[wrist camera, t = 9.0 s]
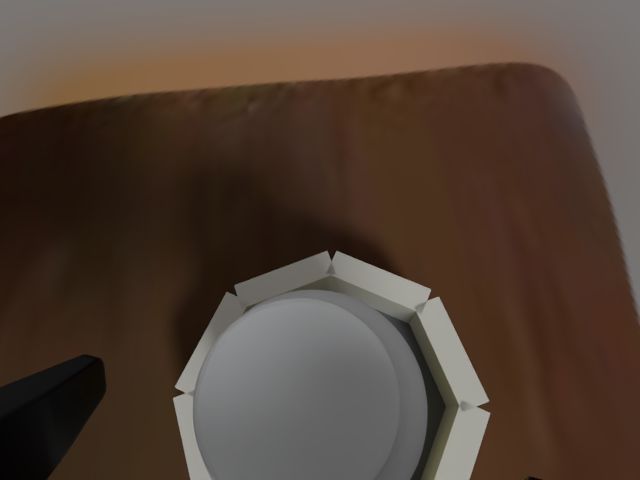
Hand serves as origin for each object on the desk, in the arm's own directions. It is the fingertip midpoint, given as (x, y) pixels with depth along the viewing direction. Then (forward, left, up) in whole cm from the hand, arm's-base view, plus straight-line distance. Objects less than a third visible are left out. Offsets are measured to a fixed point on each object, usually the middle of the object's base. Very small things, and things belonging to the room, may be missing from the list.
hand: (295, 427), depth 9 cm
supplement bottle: (0, 0, -9) cm, 9 cm away
